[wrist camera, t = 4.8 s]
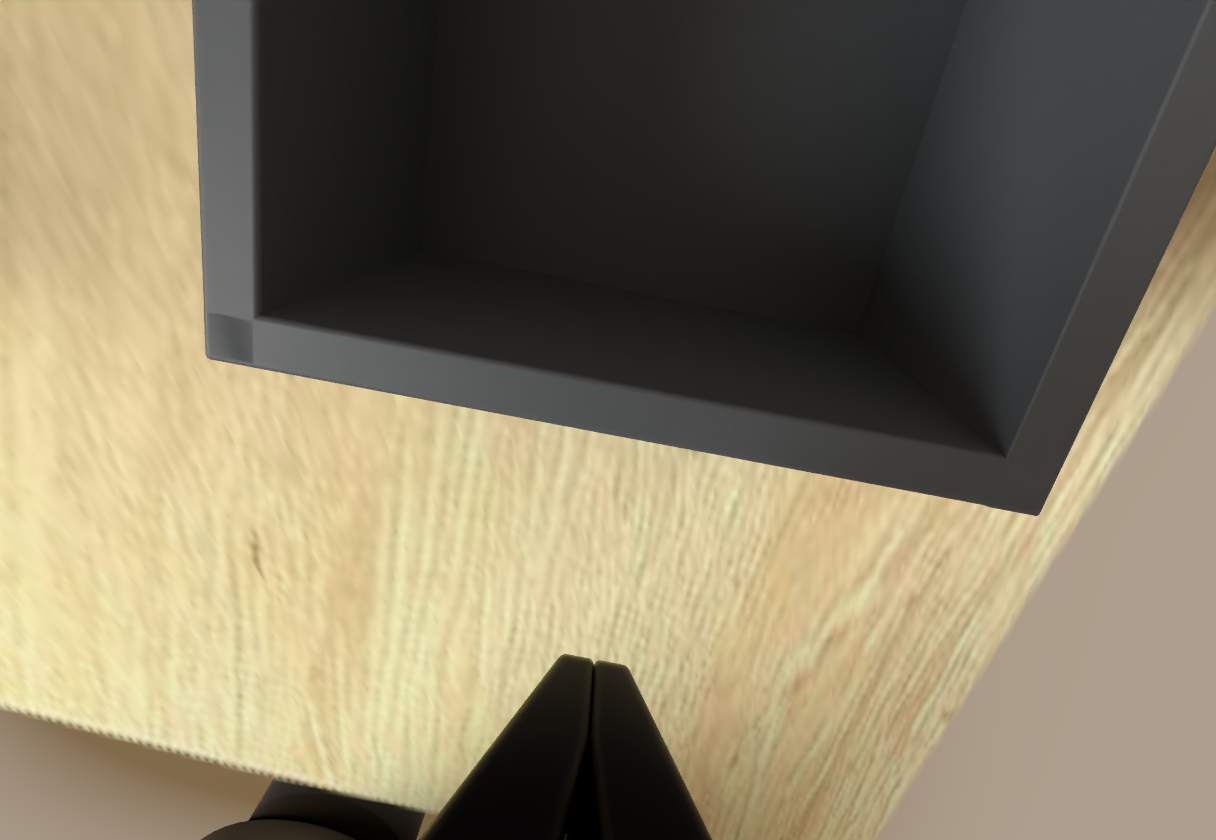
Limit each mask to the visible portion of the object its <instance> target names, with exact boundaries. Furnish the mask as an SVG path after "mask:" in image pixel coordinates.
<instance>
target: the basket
mask: <svg viewBox="0 0 1216 840" xmlns="http://www.w3.org/2000/svg"><path fill="white" fill-rule="evenodd" d="M192 9H193V35H194V61H195V87H196V113H197V138H198V164H199V190H200V216H201V242H202V267H203V293H204V322H205V348H206V356H207V358H209V359H212V360H217V361H223V362H228V363H233V364H239V365H244V366H249V367H254V368H260V369H265V370H270V371H276V372H281V373H286V374H292V375H297V376H302V377H308V378H313V379H318V380H323V381H329V382H334V383H339V384H345V385H350V386H355V387H361V388H366V389H371V390H377V391H382V392H387V393H392V394H398V395H403V396H408V397H414V398H419V399H424V400H430V401H435V402H440V403H446V404H451V405H456V406H461V407H467V408H472V409H477V410H483V411H488V412H493V413H499V414H504V415H509V416H515V417H520V418H525V419H530V420H536V421H541V422H546V423H552V424H557V425H562V426H568V427H573V428H578V429H584V430H589V431H594V432H599V433H605V434H610V435H615V436H621V437H626V438H631V439H637V440H642V441H647V442H653V443H658V444H663V445H668V446H674V447H679V448H684V449H690V450H695V451H700V452H706V453H711V454H716V455H722V456H727V457H732V458H737V459H743V460H748V461H753V462H759V463H764V464H769V465H775V466H780V467H785V468H790V469H796V470H801V471H806V472H812V473H817V474H822V475H828V476H833V477H838V478H844V479H849V480H854V481H859V482H865V483H870V484H875V485H881V486H886V487H891V488H897V489H902V490H907V491H913V492H918V493H923V494H928V495H934V496H939V497H944V498H950V499H955V500H960V501H966V502H971V503H976V504H982V505H985V506H987V507H992V508H997V509H1003V510H1008V511H1013V512H1018V513H1024V514H1029V515H1034V516H1038V515H1039V514H1040V512H1041V510H1042V508H1043V506H1044V503H1045V501H1046V499H1047V497H1048V495H1049V493H1050V491H1051V489H1052V487H1053V485H1054V483H1055V480H1056V478H1057V476H1058V474H1059V472H1060V470H1061V468H1062V466H1063V464H1064V462H1065V460H1066V458H1067V455H1068V453H1069V451H1070V449H1071V447H1072V445H1073V443H1074V441H1075V439H1076V437H1077V435H1078V432H1079V430H1080V428H1081V426H1082V424H1083V422H1084V420H1085V418H1086V416H1087V414H1088V412H1089V409H1090V407H1091V405H1092V403H1093V401H1094V399H1095V397H1096V395H1097V393H1098V391H1099V389H1100V386H1101V384H1102V382H1103V380H1104V378H1105V376H1106V374H1107V372H1108V370H1109V368H1110V366H1111V363H1112V361H1113V359H1114V357H1115V355H1116V353H1117V351H1118V349H1119V347H1120V345H1121V343H1122V340H1123V338H1124V336H1125V334H1126V332H1127V330H1128V328H1129V326H1130V324H1131V322H1132V320H1133V318H1134V315H1135V313H1136V311H1137V309H1138V307H1139V305H1140V303H1141V301H1142V299H1143V297H1144V295H1145V292H1146V290H1147V288H1148V286H1149V284H1150V282H1151V280H1152V278H1153V276H1154V274H1155V272H1156V269H1157V267H1158V265H1159V263H1160V261H1161V259H1162V257H1163V255H1164V253H1165V251H1166V249H1167V246H1168V244H1169V242H1170V240H1171V238H1172V236H1173V234H1174V232H1175V230H1176V228H1177V226H1178V223H1179V221H1180V219H1181V217H1182V215H1183V213H1184V211H1185V209H1186V207H1187V205H1188V203H1189V201H1190V198H1191V196H1192V194H1193V192H1194V190H1195V188H1196V186H1197V184H1198V182H1199V180H1200V178H1201V175H1202V173H1203V171H1204V169H1205V167H1206V165H1207V163H1208V161H1209V159H1210V157H1211V155H1212V152H1213V150H1214V148H1215V146H1216V0H192Z"/></svg>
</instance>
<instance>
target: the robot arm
mask: <svg viewBox="0 0 1216 840" xmlns="http://www.w3.org/2000/svg"><path fill="white" fill-rule="evenodd" d="M419 840H712V838H711V836H710V834H709V832H708V830H707V828H706V826H705V824H704V822H703V820H702V818H701V816H700V814H699V812H698V810H697V808H696V806H695V804H694V802H693V800H692V797H691V795H690V793H689V791H688V789H687V787H686V785H685V783H684V781H683V779H682V777H681V775H680V773H679V771H678V769H677V767H676V765H675V763H674V761H673V759H672V757H671V754H670V752H669V750H668V748H667V746H666V744H665V742H664V740H663V738H662V736H661V734H660V732H659V730H658V728H657V726H656V724H655V722H654V720H653V718H652V716H651V714H650V711H649V709H648V707H647V705H646V703H645V701H644V699H643V697H642V695H641V693H640V691H639V689H638V687H637V685H636V683H635V681H634V679H633V677H632V675H631V673H630V671H629V669H628V668H627V667H626V666H625V665H621V664H616V663H611V662H605V661H597V662H596V663H595V664H594V665H593V662H592V660H591V659H589V658H584V657H578V656H573V655H568V654H564V655H561V656H560V657H559V658H558V659H557V661H556V662H555V663H554V665H553V666H552V667H551V668H550V670H549V671H548V672H547V674H546V675H545V676H544V678H543V679H542V680H541V682H540V683H539V684H538V685H537V687H536V688H535V689H534V691H533V692H532V693H531V695H530V696H529V697H528V698H527V700H526V701H525V702H524V704H523V705H522V706H521V708H520V709H519V710H518V711H517V713H516V714H515V715H514V717H513V718H512V719H511V721H510V722H509V723H508V724H507V726H506V727H505V728H504V730H503V731H502V732H501V734H500V735H499V736H498V737H497V739H496V740H495V741H494V743H493V744H492V745H491V747H490V748H489V749H488V750H487V752H486V753H485V754H484V756H483V757H482V758H481V760H480V761H479V762H478V763H477V765H476V766H475V767H474V769H473V770H472V771H471V773H470V774H469V775H468V776H467V778H466V779H465V780H464V782H463V783H462V784H461V786H460V787H459V788H458V790H457V791H456V792H455V793H454V795H453V796H452V797H451V799H450V800H449V801H448V803H447V804H446V805H445V806H444V808H443V809H442V810H441V812H440V813H439V814H438V816H437V817H436V818H435V820H434V821H433V822H432V823H431V825H430V826H429V827H428V829H427V830H426V831H425V833H424V834H423V835H422V836H421V838H420V839H419Z"/></svg>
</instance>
